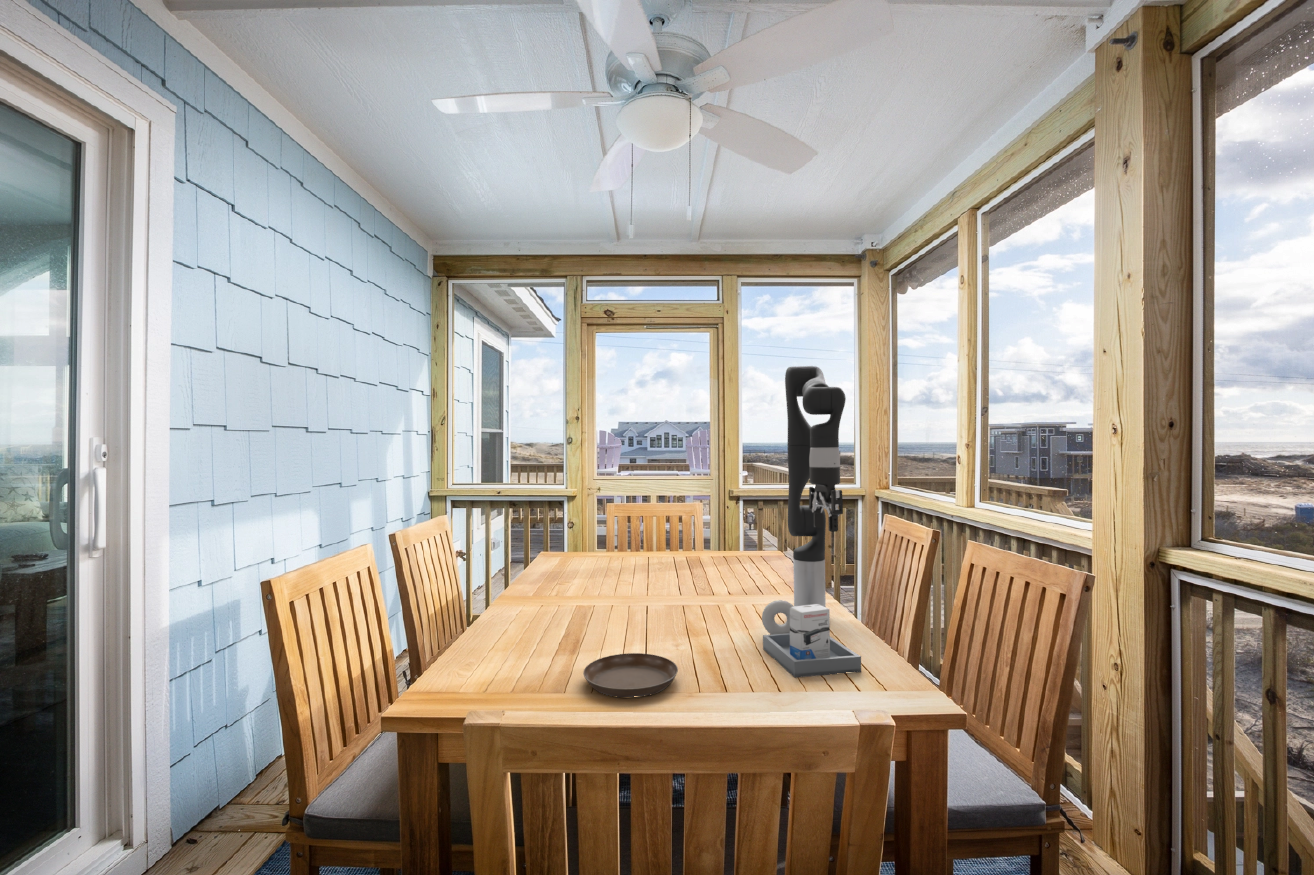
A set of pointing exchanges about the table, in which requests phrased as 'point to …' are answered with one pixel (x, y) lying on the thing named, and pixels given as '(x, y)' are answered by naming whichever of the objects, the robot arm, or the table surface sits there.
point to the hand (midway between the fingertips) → (825, 529)
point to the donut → (770, 613)
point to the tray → (836, 663)
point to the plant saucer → (630, 674)
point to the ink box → (809, 632)
